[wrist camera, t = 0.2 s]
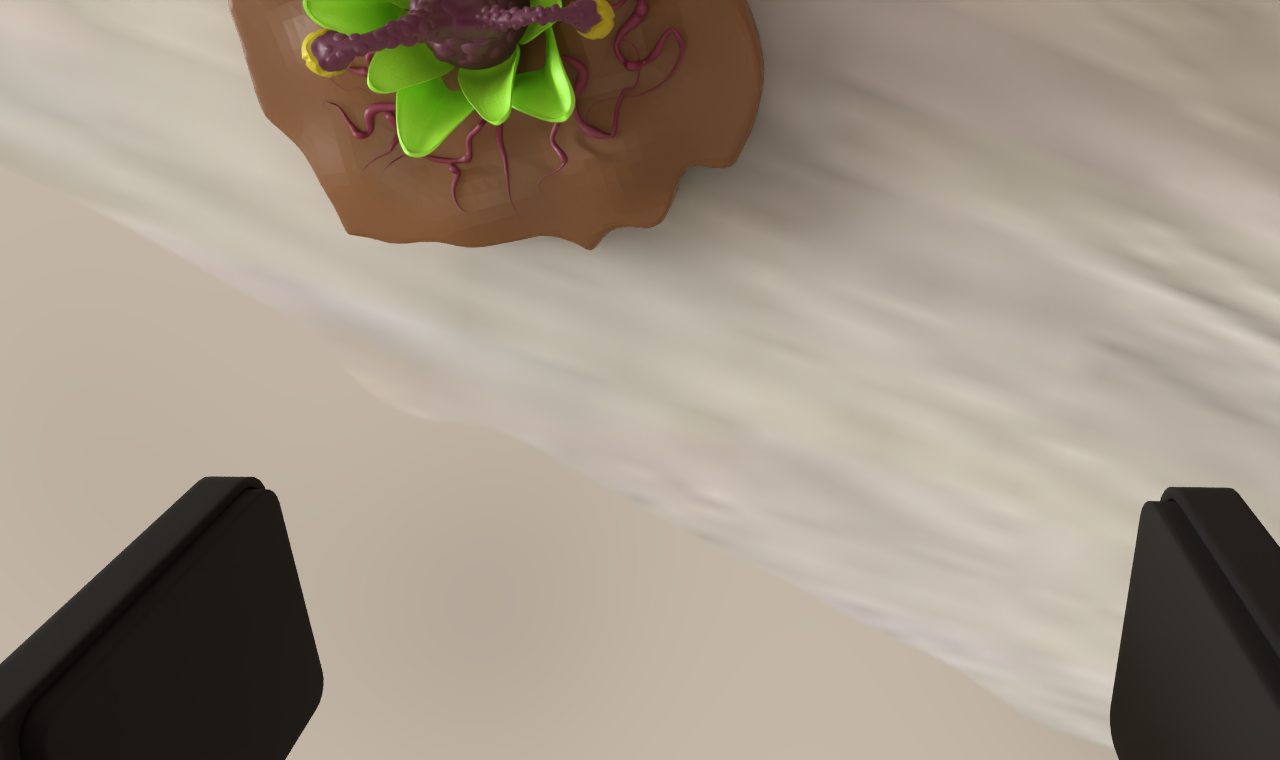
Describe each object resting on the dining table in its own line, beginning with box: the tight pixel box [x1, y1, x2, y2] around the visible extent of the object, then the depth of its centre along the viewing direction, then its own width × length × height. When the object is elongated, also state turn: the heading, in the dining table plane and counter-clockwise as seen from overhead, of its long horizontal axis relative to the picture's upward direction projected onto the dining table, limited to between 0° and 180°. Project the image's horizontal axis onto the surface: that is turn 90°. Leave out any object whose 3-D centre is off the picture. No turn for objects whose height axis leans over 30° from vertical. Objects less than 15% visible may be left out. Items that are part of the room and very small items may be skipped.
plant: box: [228, 0, 764, 250], centre depth 33 cm, size 20×20×11 cm
